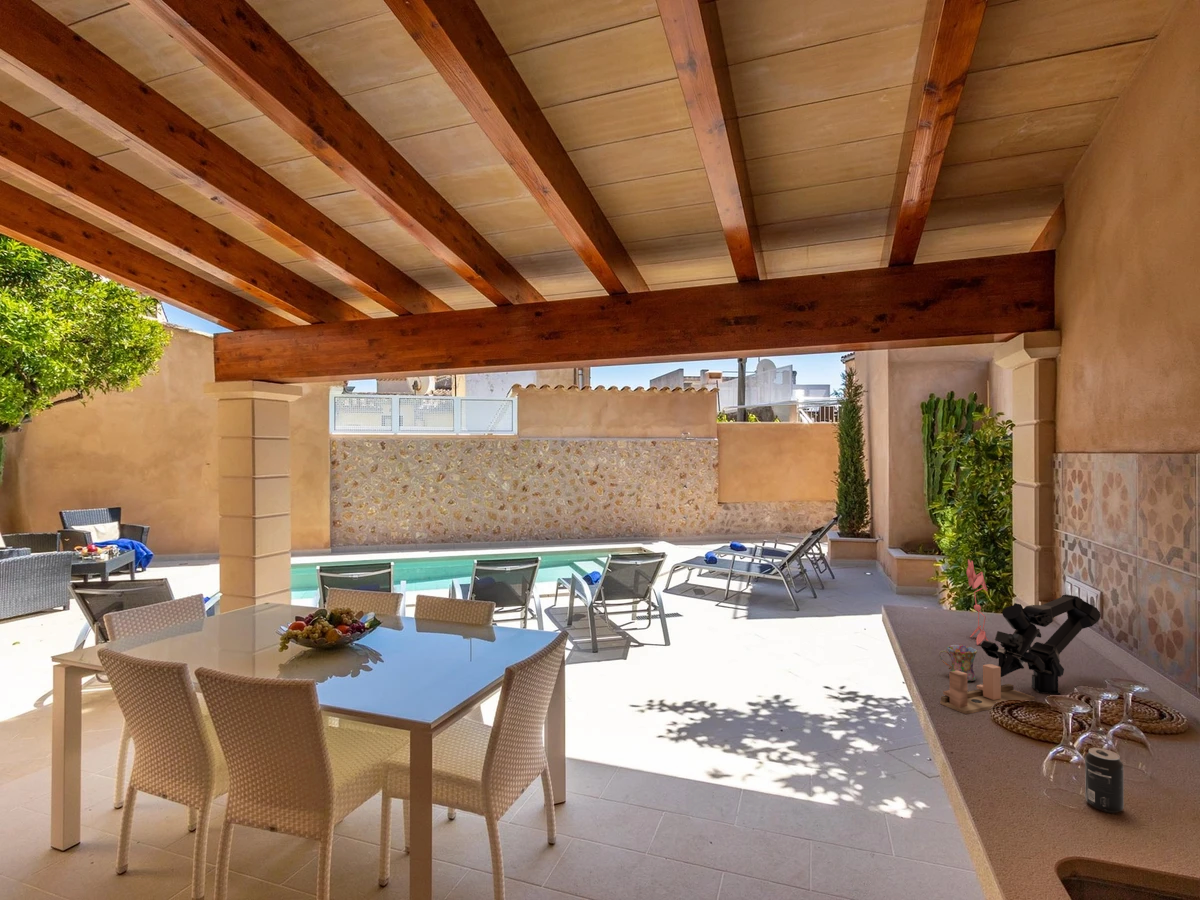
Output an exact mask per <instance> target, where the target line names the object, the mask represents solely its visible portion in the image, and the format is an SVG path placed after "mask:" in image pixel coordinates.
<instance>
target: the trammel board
mask: <svg viewBox="0 0 1200 900" xmlns="http://www.w3.org/2000/svg"><path fill="white" fill-rule="evenodd" d="M949 675H950V676H949ZM948 676H949V689H948V690H943V691H942V694H943V695H941V696H940V701H939V702H940V705H942V706H944V707H947V708H949V709H952V710H954V711H957V712H960V713H961V714H963V715H970V714H973V713H979V712H985V711H989V710H992V709H991V707H992V706H993V705H994V704H995V703H996V702H1001V701H1006V700H1034V701H1036V697H1035V696H1033V695H1031V694H1027V693H1024V692H1021V691H1018V690H1015V689H1014V684H1011V683H1006V684H1001V698H1000V699H995V700H992V699H989V698H987V697H984V696H983V690H980V689H974V690H969V691H968V681H967V673H964V672H961V671H958V670H956V671H949V672H948Z"/></svg>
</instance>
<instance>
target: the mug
mask: <svg viewBox="0 0 1200 900" xmlns="http://www.w3.org/2000/svg"><path fill="white" fill-rule="evenodd" d="M947 650H948V651H947ZM947 650H940V651H939V653H938V657H939V658H940V660H941V661H942V662H943V663H944V664H945V665H946V666H948V670H950V671H956V670H958V671H961V672H964V673H967V682H972V681H976V679H977V676H976V675H975V672H974V660H975V657H976V655H977V653H978V650H977V649H976V648H974V647H972V646H968V645H965V646H963V645H962V644H961V645H960V644H952V645H948V646H947ZM944 652H945V653H946V654H947V655H948V656H949V658H950V660H951V661H950V662H951V665H950V664H948V663H947V662H946V661H945V660H943V658H942V657H941V653H944ZM950 671H949V672H950ZM948 676H949V677H950V675H949V674H948Z"/></svg>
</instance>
